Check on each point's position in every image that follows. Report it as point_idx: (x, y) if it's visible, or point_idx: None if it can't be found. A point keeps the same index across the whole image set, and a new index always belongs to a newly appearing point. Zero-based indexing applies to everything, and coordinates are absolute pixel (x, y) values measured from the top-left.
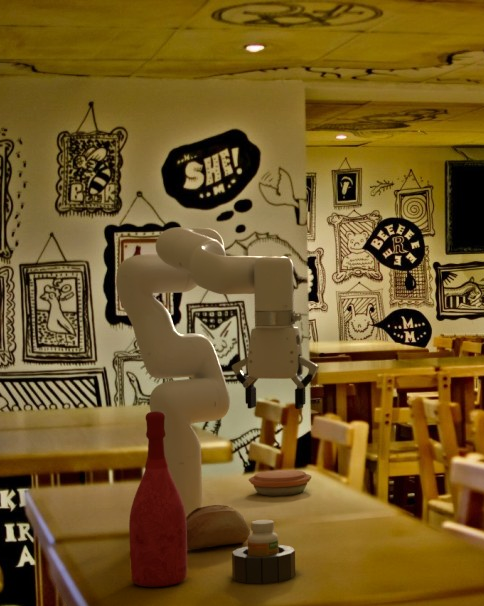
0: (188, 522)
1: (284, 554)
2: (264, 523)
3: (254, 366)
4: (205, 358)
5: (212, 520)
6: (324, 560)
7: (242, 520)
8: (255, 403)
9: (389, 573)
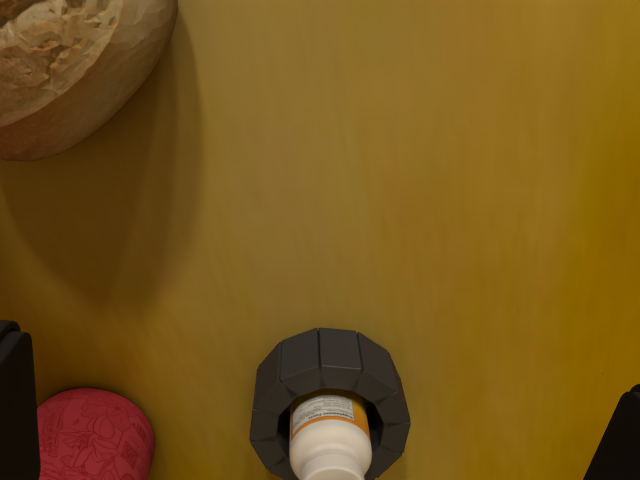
0: None
1: (390, 462)
2: None
3: None
4: None
5: (57, 137)
6: (462, 240)
7: (149, 40)
8: (12, 376)
9: (621, 368)
